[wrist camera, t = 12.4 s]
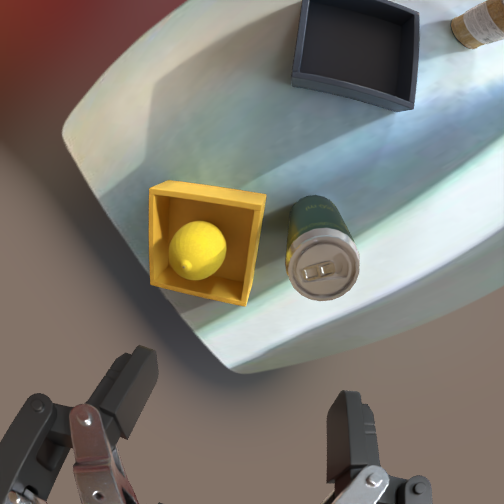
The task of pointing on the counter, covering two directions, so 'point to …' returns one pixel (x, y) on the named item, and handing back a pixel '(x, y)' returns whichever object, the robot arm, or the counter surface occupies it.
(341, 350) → the counter surface
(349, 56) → the slate bin
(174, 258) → the lemon
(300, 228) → the beer can
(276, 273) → the counter surface
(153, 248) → the yellow bin
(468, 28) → the sprinkles bottle
